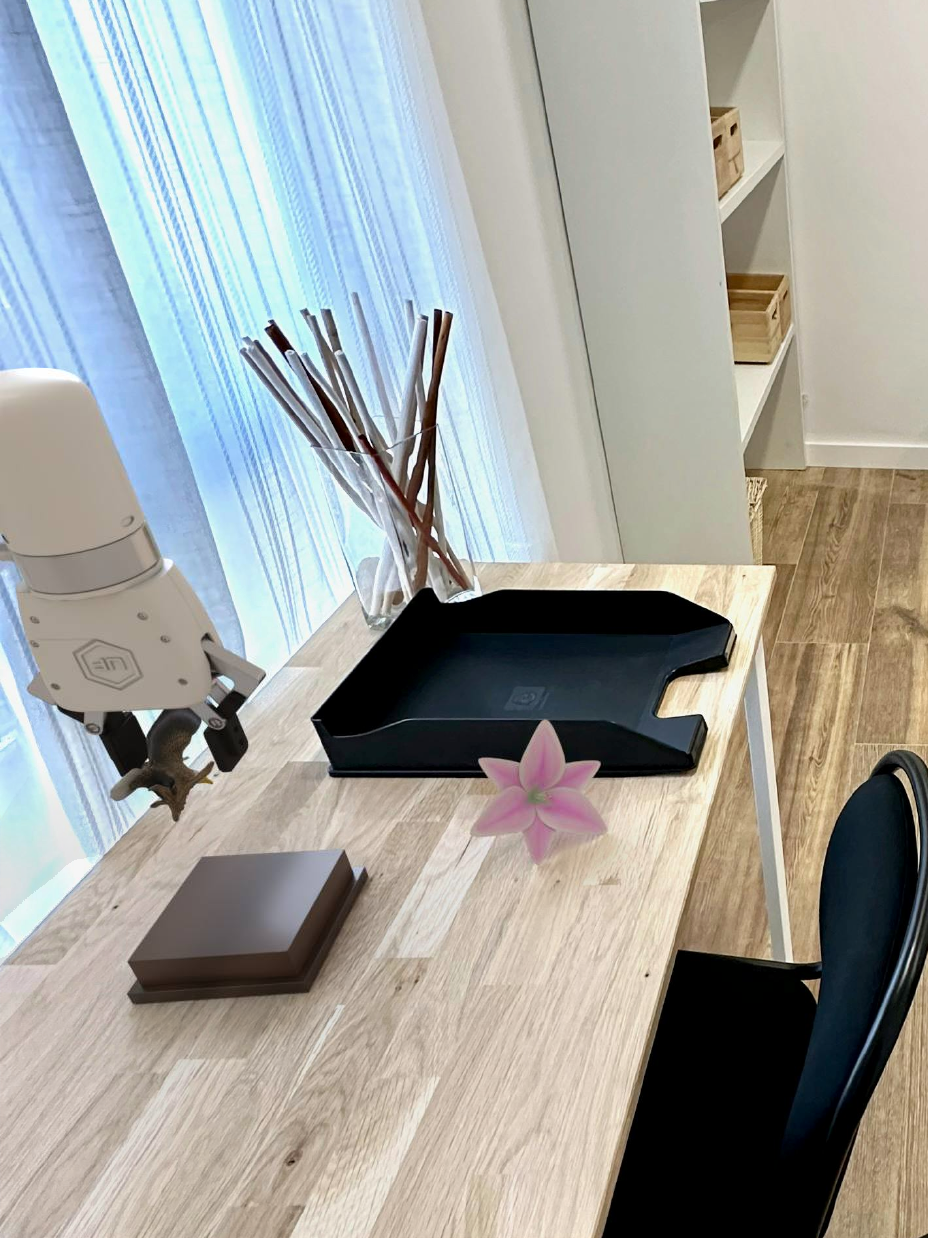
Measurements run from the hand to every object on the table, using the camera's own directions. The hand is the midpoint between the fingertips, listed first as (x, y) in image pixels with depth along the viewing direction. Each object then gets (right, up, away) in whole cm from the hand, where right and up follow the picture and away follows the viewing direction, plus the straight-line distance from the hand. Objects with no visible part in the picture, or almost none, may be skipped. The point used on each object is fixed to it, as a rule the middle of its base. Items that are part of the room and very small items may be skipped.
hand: (186, 761), depth 83 cm
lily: (+20, -9, +19) cm, 29 cm away
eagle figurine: (-1, -3, +1) cm, 3 cm away
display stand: (0, -15, +8) cm, 17 cm away
